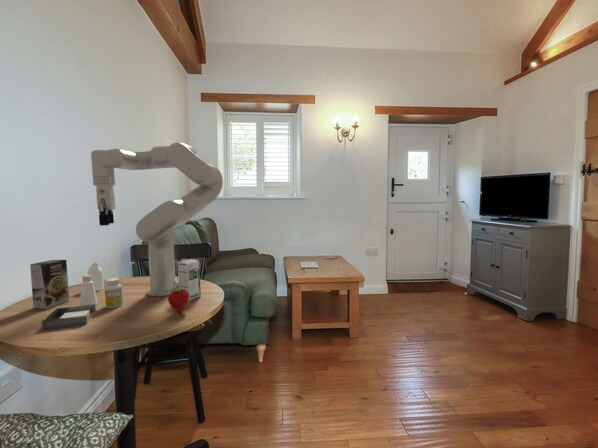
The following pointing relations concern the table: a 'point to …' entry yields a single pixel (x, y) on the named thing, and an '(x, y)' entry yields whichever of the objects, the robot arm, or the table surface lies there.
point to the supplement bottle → (113, 293)
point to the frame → (54, 322)
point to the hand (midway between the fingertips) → (107, 224)
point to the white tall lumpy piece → (96, 276)
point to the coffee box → (49, 283)
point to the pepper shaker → (87, 291)
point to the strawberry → (178, 299)
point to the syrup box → (189, 277)
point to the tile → (76, 314)
